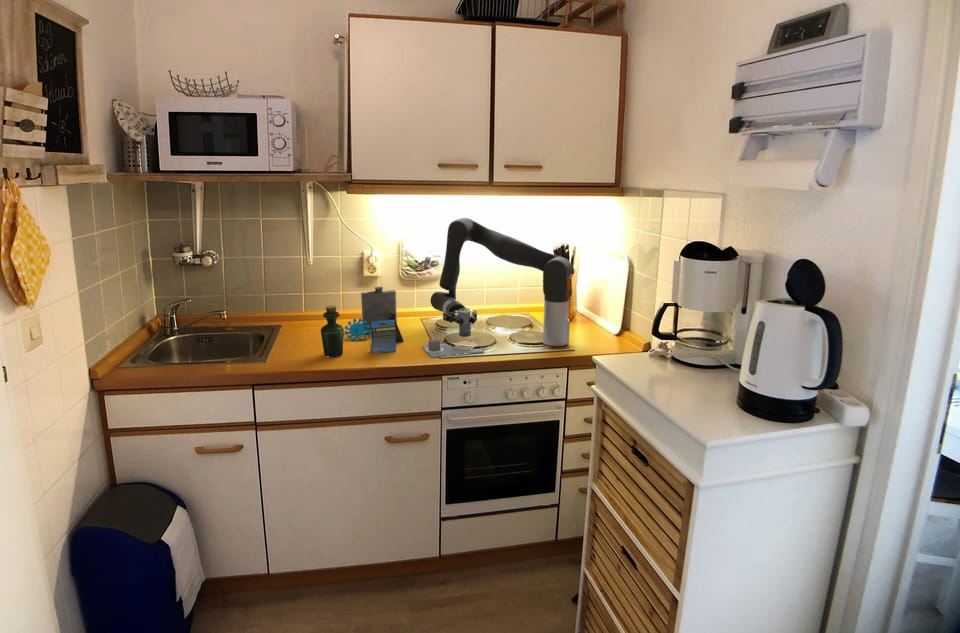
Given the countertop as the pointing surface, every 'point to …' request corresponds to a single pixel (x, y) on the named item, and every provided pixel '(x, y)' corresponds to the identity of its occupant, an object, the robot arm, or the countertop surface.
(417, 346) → the countertop surface
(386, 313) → the door stopper
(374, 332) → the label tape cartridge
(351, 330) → the blue virus model
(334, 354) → the potion bottle
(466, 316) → the steel pin
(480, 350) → the plate
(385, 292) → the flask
